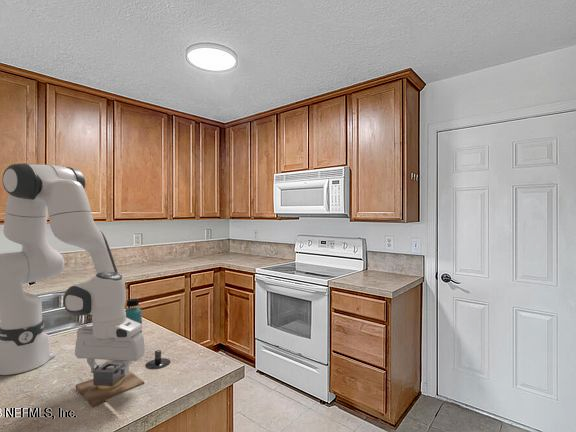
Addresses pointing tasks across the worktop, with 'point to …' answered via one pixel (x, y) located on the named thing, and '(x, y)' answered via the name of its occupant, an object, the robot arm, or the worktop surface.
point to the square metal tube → (108, 374)
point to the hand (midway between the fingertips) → (109, 372)
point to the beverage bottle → (133, 311)
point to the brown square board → (107, 388)
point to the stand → (157, 361)
